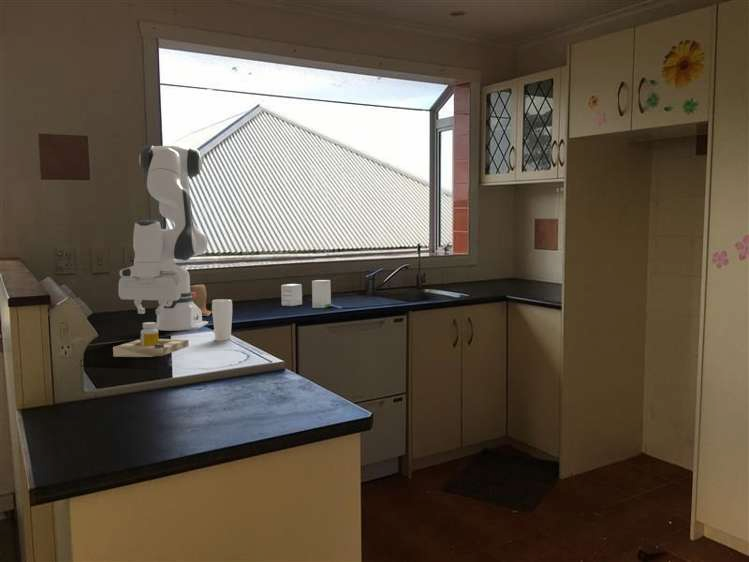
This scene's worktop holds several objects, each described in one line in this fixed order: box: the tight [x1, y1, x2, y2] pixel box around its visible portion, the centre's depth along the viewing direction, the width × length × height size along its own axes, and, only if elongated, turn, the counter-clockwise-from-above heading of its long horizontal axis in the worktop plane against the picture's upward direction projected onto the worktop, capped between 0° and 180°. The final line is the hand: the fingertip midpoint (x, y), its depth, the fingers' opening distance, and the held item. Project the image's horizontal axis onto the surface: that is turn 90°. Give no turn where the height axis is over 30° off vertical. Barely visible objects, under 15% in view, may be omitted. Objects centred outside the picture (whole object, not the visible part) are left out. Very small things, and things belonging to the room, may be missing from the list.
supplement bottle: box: [140, 321, 159, 346], centre depth 205 cm, size 5×5×10 cm
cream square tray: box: [112, 338, 189, 358], centre depth 205 cm, size 17×17×4 cm
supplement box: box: [280, 283, 303, 307], centre depth 314 cm, size 7×7×13 cm
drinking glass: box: [211, 298, 233, 342], centre depth 221 cm, size 7×7×15 cm
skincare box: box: [311, 279, 332, 309], centre depth 302 cm, size 8×7×16 cm
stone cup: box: [190, 284, 212, 317], centre depth 289 cm, size 15×12×15 cm
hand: (150, 314), depth 204 cm, fingers open, 5 cm apart
